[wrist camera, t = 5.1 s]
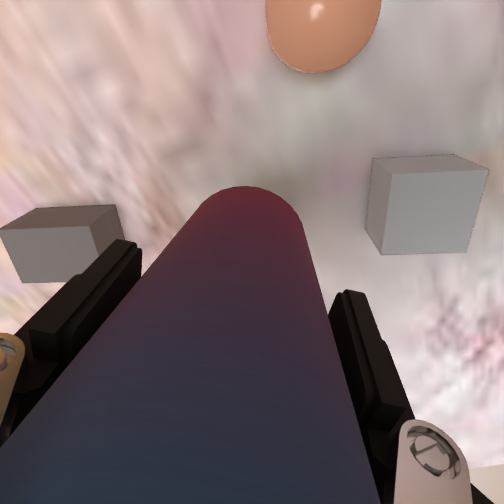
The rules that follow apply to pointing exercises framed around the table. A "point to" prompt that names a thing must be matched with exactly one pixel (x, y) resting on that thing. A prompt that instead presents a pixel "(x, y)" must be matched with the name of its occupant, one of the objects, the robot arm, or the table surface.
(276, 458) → the cup
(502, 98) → the table surface
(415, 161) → the slate block
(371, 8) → the terracotta ball
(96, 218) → the taupe block
